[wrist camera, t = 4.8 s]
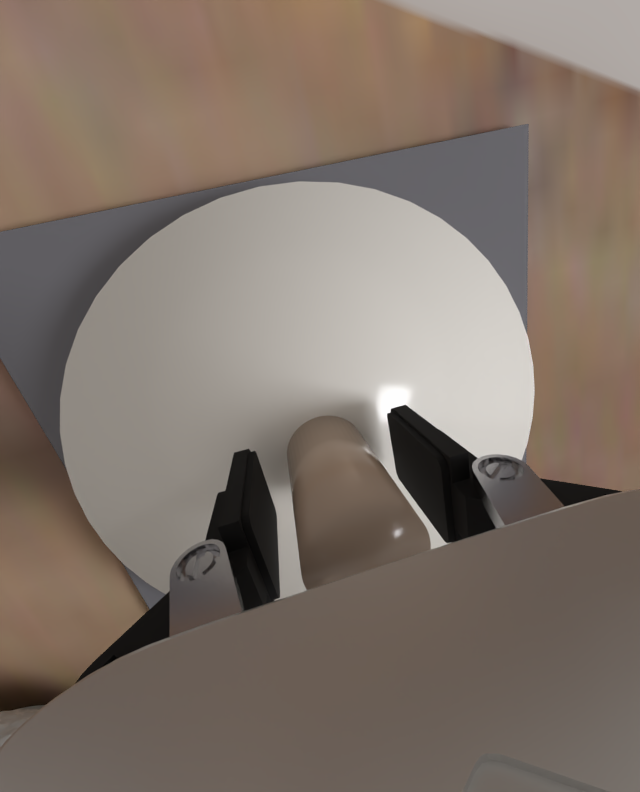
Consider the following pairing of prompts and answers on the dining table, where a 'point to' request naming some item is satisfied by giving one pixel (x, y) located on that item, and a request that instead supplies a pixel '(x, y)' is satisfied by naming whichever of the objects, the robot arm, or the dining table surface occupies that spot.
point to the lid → (288, 375)
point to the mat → (133, 225)
